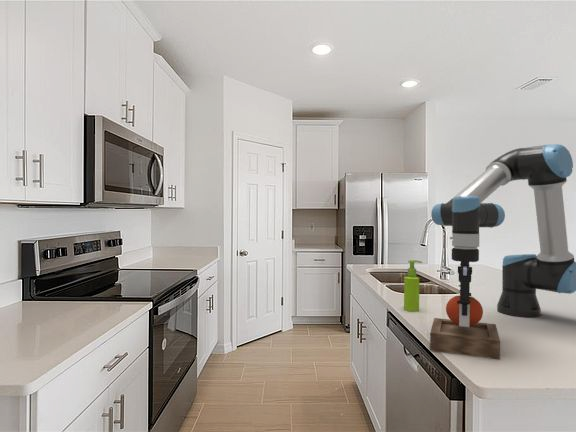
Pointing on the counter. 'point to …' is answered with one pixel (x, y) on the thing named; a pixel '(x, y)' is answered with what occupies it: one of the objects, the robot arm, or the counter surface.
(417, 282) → the soap dispenser
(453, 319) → the tomato
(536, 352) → the counter surface
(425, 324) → the counter surface
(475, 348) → the walnut box
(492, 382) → the counter surface
